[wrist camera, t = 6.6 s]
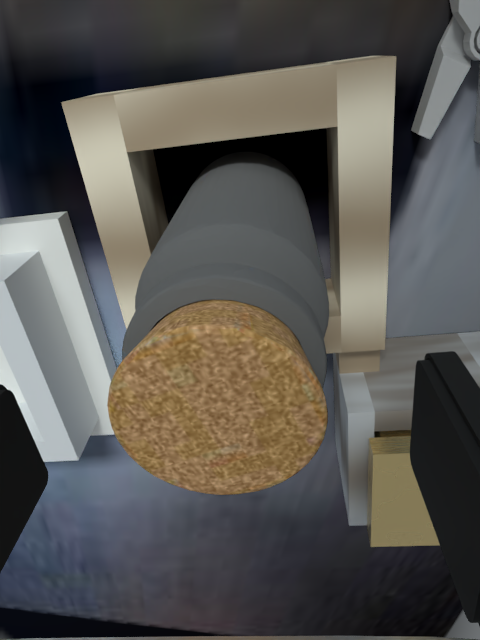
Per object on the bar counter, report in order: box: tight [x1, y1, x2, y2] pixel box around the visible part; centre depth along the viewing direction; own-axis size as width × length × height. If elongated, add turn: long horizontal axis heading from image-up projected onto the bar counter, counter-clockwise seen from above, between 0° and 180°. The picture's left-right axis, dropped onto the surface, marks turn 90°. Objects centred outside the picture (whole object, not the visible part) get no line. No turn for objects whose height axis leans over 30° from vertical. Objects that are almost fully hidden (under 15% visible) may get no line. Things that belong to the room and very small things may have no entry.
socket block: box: [61, 56, 480, 526], centre depth 22 cm, size 22×18×6 cm
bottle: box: [107, 152, 329, 495], centre depth 16 cm, size 6×6×15 cm
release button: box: [367, 430, 440, 547], centre depth 24 cm, size 6×6×6 cm
